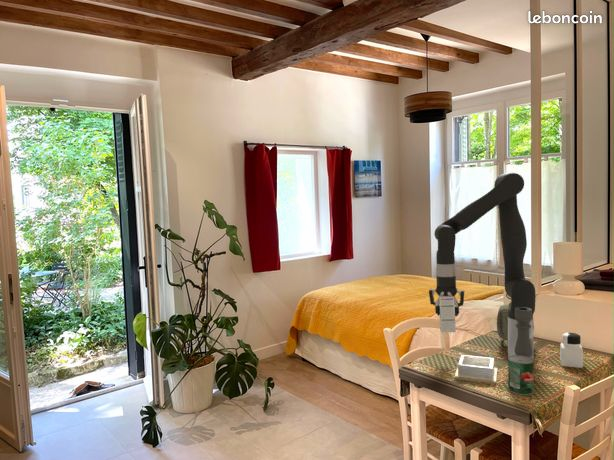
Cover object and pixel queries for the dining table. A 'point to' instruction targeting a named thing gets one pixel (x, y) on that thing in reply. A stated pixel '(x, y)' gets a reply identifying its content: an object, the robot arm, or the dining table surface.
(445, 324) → the syrup box
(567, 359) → the medicine bottle
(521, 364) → the canned tomato
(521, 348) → the candle holder
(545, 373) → the dining table surface
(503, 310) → the tabletop clock
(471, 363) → the rectangular hollow frame
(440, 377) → the dining table surface
